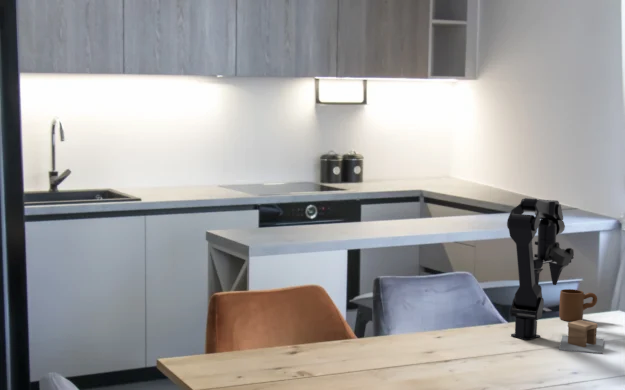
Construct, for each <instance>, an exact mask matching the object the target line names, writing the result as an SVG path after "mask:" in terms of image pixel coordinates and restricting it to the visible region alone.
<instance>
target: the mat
mask: <svg viewBox="0 0 625 390" xmlns="http://www.w3.org/2000/svg"><path fill="white" fill-rule="evenodd" d="M604 340H605V339H604V338H600V337H599V338H598V337H596V344H595V345H593V344H588V343H586V347H580V346H576V345H572V344H569V343H568V335H565V334H564V335H562V337H561V340H560V344H559V347H558V350H559V351H565V352H566V351H567V352H577V353H578V352H579V353H586V354H587V353H588V354H599V355H603V352H604V351H603V350H604Z"/></svg>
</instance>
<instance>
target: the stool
mask: <svg viewBox="0 0 625 390" xmlns="http://www.w3.org/2000/svg"><path fill="white" fill-rule="evenodd" d="M567 327H568V329H567V330H568V331H567V336H568V343H569V344H572V345H576V346H580V347H586V343H588V344H593V345H595V344H596V338H597V335H598V334H597V330H598V323H596V322H591V321H587V320H583V319H582V320H577V321H573V322H570V321H568V322H567Z"/></svg>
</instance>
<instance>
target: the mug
mask: <svg viewBox="0 0 625 390" xmlns="http://www.w3.org/2000/svg"><path fill="white" fill-rule="evenodd" d="M589 298H592V300H591V301H590V302H585V300H586V299H589ZM597 303H598V296H597V295H596V294H595V293H593V292H587V293H584V291H583V290H579V289H571V288H568V289H567V288H566V289H561V290H560V294H559V307H558V308H559V311H558V312H559V313H558V314H559V315H558V317H559V319H560V320H561V321H564V322H570V321H571V322H573V321H577V320H583V319H584V311H585V310H586V309H590V308H593V307H595V306H596V304H597Z"/></svg>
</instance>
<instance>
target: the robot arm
mask: <svg viewBox="0 0 625 390" xmlns="http://www.w3.org/2000/svg"><path fill="white" fill-rule="evenodd" d="M524 212H528V213H529V212H530V213H534V214H525V213H524ZM506 226H507V229H508V234H509V238H511V239H512V240H513V242H514V244H515V247H516V259H517V271H518V283H519V285H518V286H519V287H518V288H517V290H516V292H515V294H514V297H513V299H512V302H511V306H510V311H509V314H510V317H514V319H515V323H514V324H515V327H514V333H510V337H514V338H517V339H522V340H526V341H530V340H533V339H538V338H540V337H541V335H540V334H537V333H538V332H537V329H538V320H539V319H541V318H542V317H543V311H544V304H545V302H544V297H543V294H542V292H543V291H542V290H543V289H542V286H541V285H540V284H539V282H540V274H541V272H542V271H543V270H544V269H543V268H542V267H543V265H544V264H545V265H546V264H548V265H549V271H550V277H551V278H550V279H551V282H552V283H551V284H552V285H553V286H557V284H558V280H559V279H560V276H561V273H562V272H563V270H564V268H566V267H568V266H570V265H569V264H571V263H572V260H573V259H574V256H575V255H574V252H575V250H574V249H573V248H571V247H567V248H560V242H559V241H557V236H558V235H560V234H562V233H563V232H564V231H565V228H566V226H565V222H564V215H563V209H562V205H561V204H560V201H559V200H552V199H539V198H538V199H537V198H530V197H529V198H528V197H527V198H526V197H524V198H522V199H521V200H520V203H519V204H518V205H516V206H515V207H514V208H513V209H511V211H510V213H509V216H508V218H507V221H506ZM536 234H537V241H535V240H534V245H535V246H537V250H536V253H534V250H533V249H534V248H533V239H534V238H535V236H536Z"/></svg>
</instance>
